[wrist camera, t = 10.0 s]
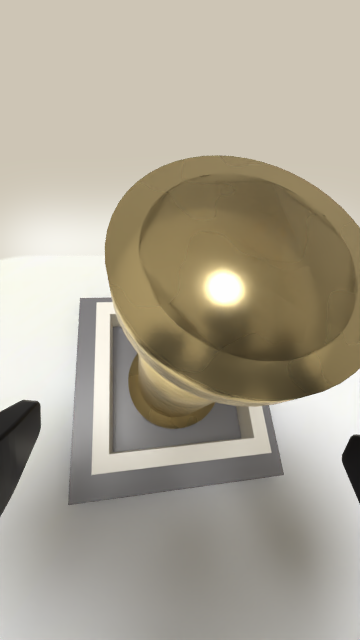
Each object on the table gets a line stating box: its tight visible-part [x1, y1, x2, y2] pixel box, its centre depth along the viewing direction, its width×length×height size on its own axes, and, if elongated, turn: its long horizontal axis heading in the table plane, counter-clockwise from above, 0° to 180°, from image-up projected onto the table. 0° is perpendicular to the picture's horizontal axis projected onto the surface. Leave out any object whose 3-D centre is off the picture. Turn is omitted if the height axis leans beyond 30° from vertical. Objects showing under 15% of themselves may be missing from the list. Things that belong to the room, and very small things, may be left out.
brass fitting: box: [105, 156, 360, 429], centre depth 11 cm, size 6×6×13 cm
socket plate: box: [68, 298, 284, 505], centre depth 17 cm, size 12×12×3 cm
